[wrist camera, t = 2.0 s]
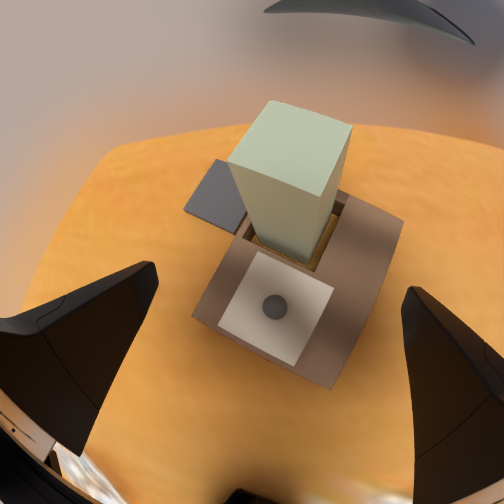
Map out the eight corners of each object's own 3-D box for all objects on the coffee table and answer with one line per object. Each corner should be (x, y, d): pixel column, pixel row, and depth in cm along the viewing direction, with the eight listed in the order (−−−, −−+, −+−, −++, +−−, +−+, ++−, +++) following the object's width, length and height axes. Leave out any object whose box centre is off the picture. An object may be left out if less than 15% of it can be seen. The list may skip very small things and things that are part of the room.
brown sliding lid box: (326, 383, 19) (333, 395, 15) (202, 317, 22) (183, 314, 18) (394, 231, 21) (411, 213, 17) (278, 179, 24) (275, 153, 20)
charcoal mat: (234, 235, 23) (233, 232, 23) (185, 211, 25) (183, 209, 24) (266, 180, 25) (266, 176, 24) (217, 162, 26) (216, 158, 25)
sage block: (307, 266, 22) (320, 197, 10) (260, 243, 23) (226, 161, 12) (328, 220, 23) (352, 126, 11) (283, 200, 24) (270, 99, 12)
